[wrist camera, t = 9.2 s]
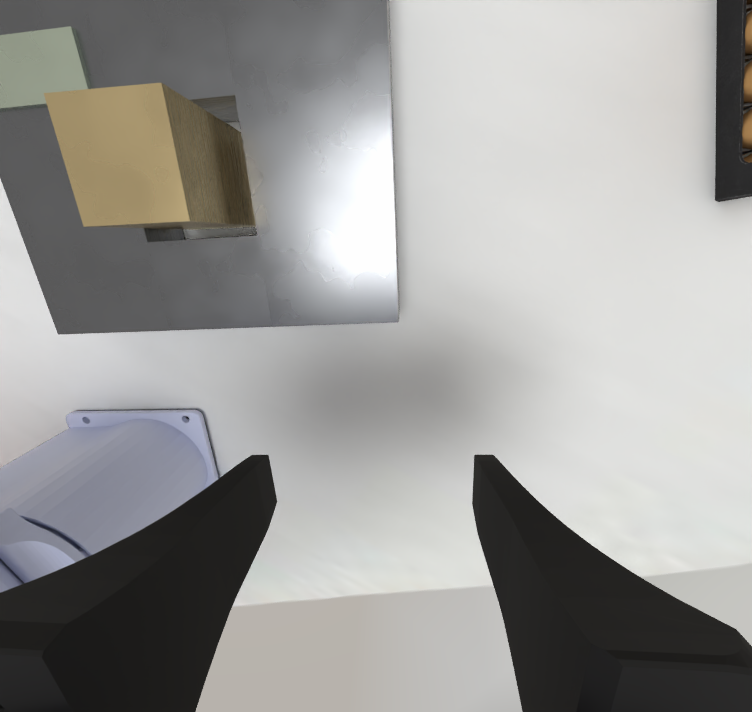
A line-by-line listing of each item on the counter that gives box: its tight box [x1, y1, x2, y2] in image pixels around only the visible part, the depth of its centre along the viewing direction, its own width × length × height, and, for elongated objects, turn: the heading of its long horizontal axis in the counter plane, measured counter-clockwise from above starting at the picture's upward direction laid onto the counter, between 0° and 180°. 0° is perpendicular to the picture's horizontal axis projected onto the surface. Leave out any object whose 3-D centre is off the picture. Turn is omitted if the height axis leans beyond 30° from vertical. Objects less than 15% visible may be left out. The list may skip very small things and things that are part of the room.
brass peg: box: [44, 83, 256, 230], centre depth 15 cm, size 4×4×7 cm
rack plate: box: [0, 0, 399, 334], centre depth 16 cm, size 18×14×3 cm
